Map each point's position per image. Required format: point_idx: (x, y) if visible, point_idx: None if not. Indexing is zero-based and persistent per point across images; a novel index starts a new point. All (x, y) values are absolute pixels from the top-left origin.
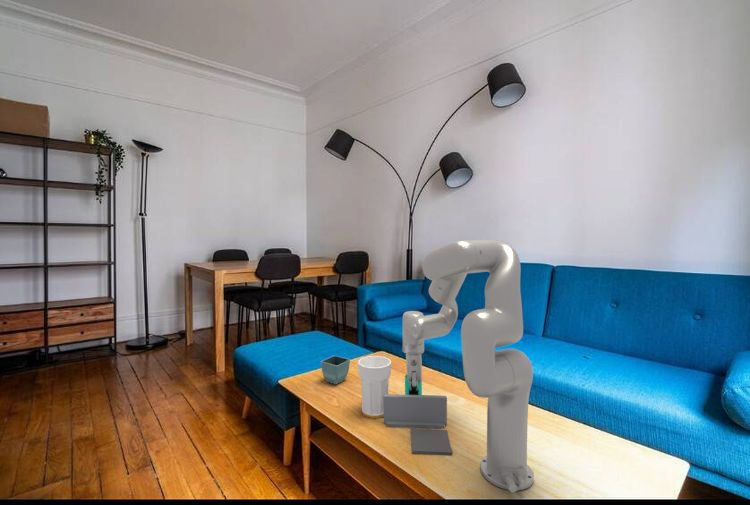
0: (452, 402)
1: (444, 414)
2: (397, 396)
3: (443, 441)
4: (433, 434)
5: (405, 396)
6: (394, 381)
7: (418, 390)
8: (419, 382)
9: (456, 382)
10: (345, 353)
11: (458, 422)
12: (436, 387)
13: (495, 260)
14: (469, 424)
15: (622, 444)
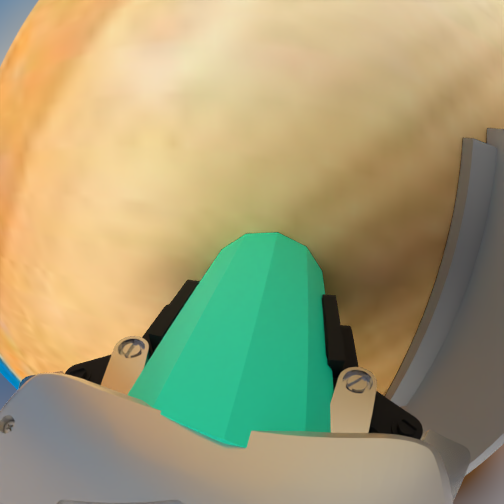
0: (219, 13)
1: None
2: (471, 469)
3: None
4: None
5: (498, 447)
6: (52, 319)
7: (323, 351)
8: (316, 420)
9: (22, 41)
10: (8, 378)
11: (474, 57)
12: (47, 124)
13: None
14: (479, 17)
15: None
